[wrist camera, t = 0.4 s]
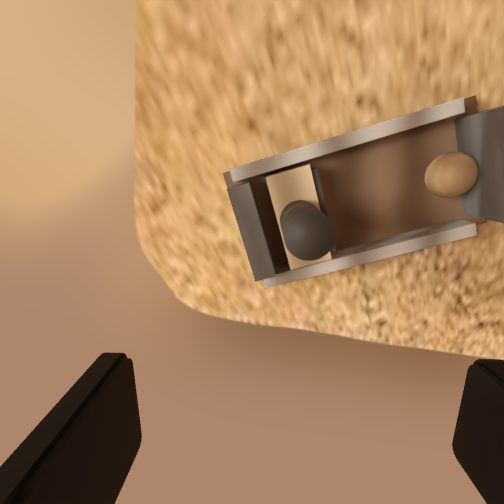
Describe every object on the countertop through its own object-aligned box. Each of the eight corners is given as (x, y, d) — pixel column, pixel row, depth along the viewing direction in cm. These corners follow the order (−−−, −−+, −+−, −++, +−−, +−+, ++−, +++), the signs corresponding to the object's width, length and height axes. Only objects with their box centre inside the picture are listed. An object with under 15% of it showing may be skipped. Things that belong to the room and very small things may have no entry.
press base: (464, 97, 28) (533, 74, 21) (476, 220, 31) (539, 237, 24) (224, 171, 31) (211, 173, 24) (257, 277, 34) (254, 306, 27)
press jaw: (311, 162, 29) (332, 160, 19) (331, 249, 31) (359, 284, 22) (265, 176, 29) (264, 181, 20) (288, 260, 31) (297, 299, 22)
